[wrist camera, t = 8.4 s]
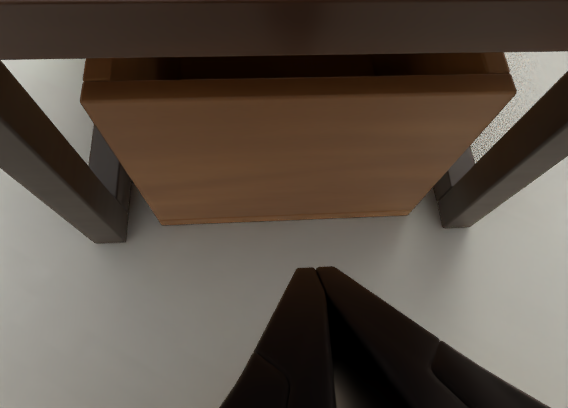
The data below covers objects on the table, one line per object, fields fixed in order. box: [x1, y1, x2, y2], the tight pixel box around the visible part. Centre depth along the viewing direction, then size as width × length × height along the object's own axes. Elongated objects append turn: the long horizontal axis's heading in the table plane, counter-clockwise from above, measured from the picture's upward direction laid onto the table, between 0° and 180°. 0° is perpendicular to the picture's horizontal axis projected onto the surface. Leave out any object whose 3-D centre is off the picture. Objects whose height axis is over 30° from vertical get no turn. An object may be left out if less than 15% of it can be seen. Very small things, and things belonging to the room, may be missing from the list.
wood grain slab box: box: [80, 52, 516, 225], centre depth 15 cm, size 10×10×8 cm
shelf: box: [0, 0, 568, 243], centre depth 14 cm, size 12×15×11 cm
